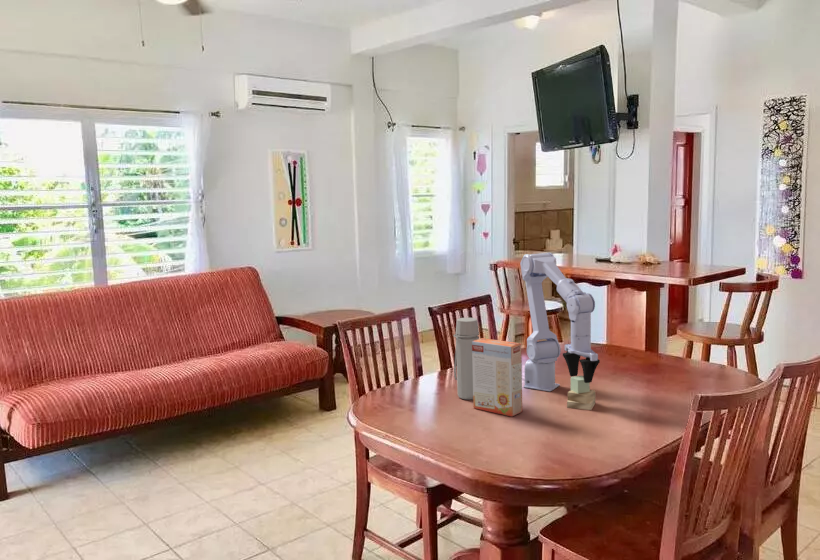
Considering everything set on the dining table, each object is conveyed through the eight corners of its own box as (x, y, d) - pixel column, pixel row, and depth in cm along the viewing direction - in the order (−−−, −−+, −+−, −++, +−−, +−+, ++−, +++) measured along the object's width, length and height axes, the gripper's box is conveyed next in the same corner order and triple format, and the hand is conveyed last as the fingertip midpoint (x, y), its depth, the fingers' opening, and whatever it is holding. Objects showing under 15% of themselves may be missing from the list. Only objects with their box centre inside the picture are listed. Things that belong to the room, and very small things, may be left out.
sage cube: (570, 389, 203) (570, 377, 202) (582, 388, 204) (582, 375, 203) (577, 393, 199) (577, 380, 198) (589, 391, 200) (589, 378, 200)
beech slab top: (567, 400, 201) (567, 392, 201) (576, 395, 205) (576, 387, 205) (586, 403, 197) (586, 395, 197) (595, 398, 202) (595, 390, 201)
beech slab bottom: (567, 409, 200) (567, 401, 200) (571, 402, 206) (571, 394, 206) (591, 412, 197) (591, 404, 197) (595, 405, 203) (595, 397, 203)
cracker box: (523, 412, 197) (522, 342, 194) (512, 417, 193) (511, 346, 190) (484, 403, 206) (483, 336, 204) (472, 408, 202) (471, 340, 199)
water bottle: (485, 396, 214) (483, 318, 210) (470, 402, 208) (468, 322, 205) (462, 390, 220) (461, 315, 217) (447, 396, 214) (445, 319, 211)
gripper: (555, 331, 205) (556, 374, 207) (583, 340, 191) (583, 387, 193) (575, 329, 207) (575, 371, 209) (604, 338, 193) (603, 384, 195)
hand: (580, 379), depth 201 cm, fingers open, 7 cm apart
